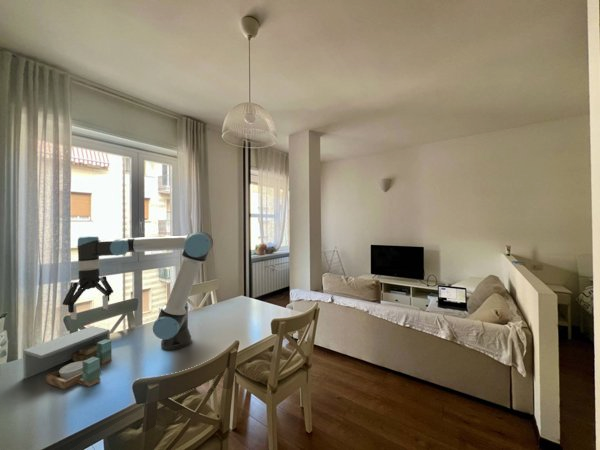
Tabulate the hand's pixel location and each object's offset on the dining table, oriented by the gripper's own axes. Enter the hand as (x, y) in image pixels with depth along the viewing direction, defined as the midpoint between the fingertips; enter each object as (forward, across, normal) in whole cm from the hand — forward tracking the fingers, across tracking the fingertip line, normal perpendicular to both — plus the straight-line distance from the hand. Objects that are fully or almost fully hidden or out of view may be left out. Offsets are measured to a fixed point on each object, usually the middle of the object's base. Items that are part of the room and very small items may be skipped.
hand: (90, 313), depth 117 cm
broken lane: (+24, -4, -4) cm, 25 cm away
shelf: (+24, +3, -9) cm, 26 cm away
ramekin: (+24, +9, +2) cm, 26 cm away
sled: (+24, +9, +7) cm, 27 cm away
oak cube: (+24, -4, -8) cm, 26 cm away
